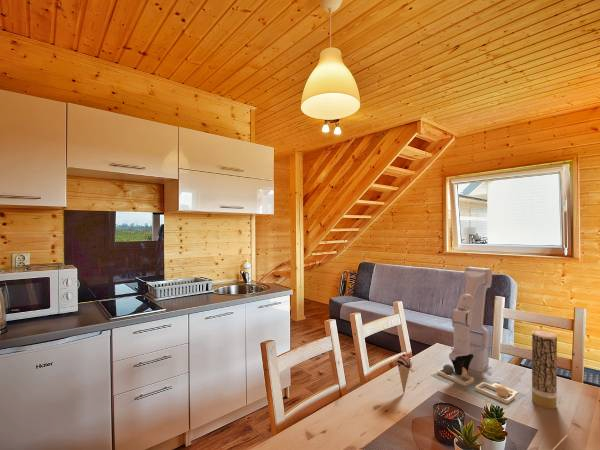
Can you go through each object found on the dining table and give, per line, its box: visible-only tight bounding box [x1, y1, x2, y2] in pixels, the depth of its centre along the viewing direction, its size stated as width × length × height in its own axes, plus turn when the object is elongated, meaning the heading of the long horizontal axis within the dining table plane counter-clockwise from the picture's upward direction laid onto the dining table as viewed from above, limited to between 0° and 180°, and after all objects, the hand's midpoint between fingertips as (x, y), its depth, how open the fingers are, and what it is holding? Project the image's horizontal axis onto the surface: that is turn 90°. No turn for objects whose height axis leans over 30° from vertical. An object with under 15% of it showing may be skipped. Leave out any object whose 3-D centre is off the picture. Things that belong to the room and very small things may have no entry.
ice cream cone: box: [395, 353, 413, 393], centre depth 117 cm, size 6×6×15 cm
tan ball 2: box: [496, 384, 509, 398], centre depth 113 cm, size 4×4×4 cm
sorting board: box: [430, 365, 526, 410], centre depth 122 cm, size 16×28×2 cm, turn 34°
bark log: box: [531, 329, 558, 410], centre depth 109 cm, size 7×7×25 cm
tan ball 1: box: [458, 367, 467, 377], centre depth 126 cm, size 4×4×4 cm
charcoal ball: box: [442, 364, 454, 375], centre depth 130 cm, size 4×4×4 cm
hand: (461, 372), depth 126 cm, fingers closed on tan ball 1, 4 cm apart
